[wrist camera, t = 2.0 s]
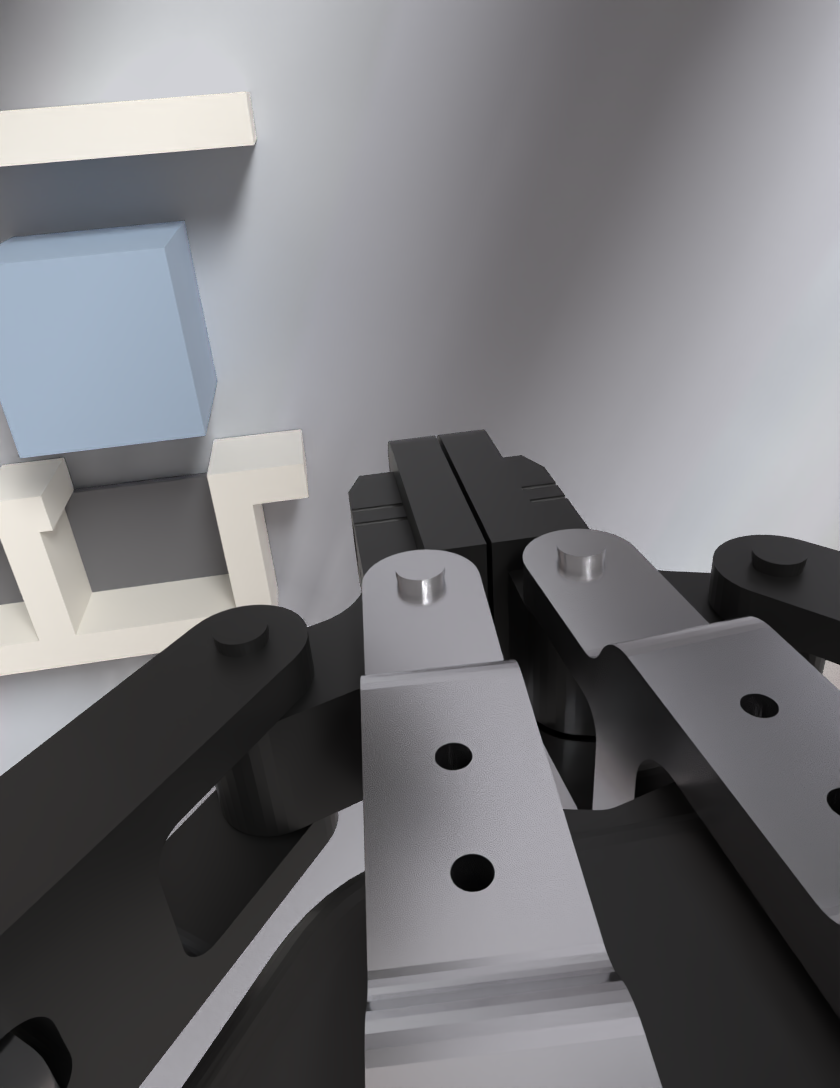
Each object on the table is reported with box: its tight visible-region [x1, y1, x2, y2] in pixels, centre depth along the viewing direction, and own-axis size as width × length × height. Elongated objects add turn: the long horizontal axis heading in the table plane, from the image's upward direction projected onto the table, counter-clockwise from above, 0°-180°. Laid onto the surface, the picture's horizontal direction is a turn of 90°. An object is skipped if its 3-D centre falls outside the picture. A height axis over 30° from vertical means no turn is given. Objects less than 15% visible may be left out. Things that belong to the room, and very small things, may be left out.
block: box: [0, 221, 217, 458], centre depth 23 cm, size 5×5×5 cm
